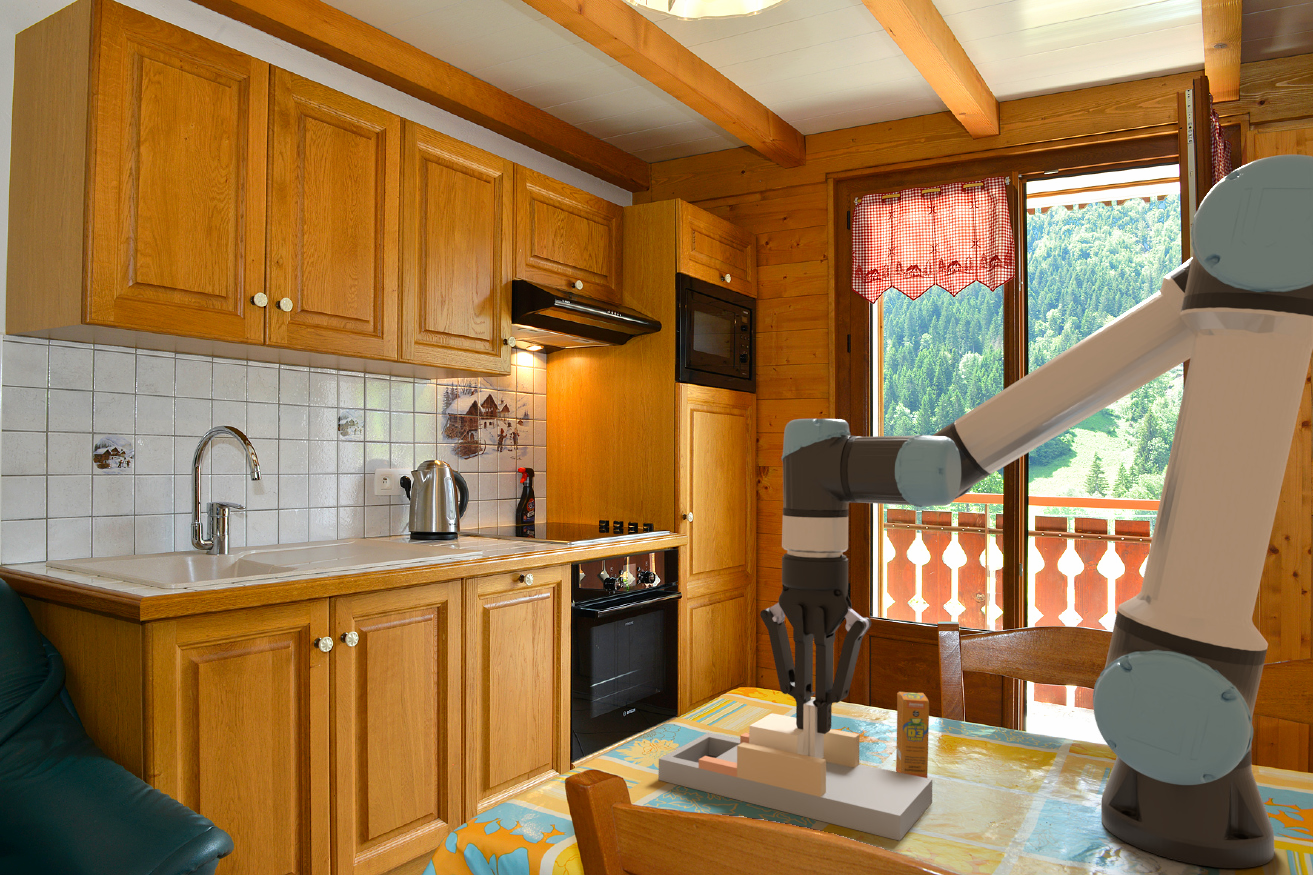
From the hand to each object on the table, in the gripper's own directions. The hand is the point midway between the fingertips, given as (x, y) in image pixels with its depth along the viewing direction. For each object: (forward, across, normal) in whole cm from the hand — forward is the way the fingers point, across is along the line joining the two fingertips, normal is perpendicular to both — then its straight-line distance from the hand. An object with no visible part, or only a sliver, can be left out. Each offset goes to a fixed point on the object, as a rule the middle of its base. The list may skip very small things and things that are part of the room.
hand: (813, 759), depth 97 cm
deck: (+4, +3, 0) cm, 5 cm away
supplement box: (+4, -8, -12) cm, 15 cm away
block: (+2, +4, 0) cm, 4 cm away
